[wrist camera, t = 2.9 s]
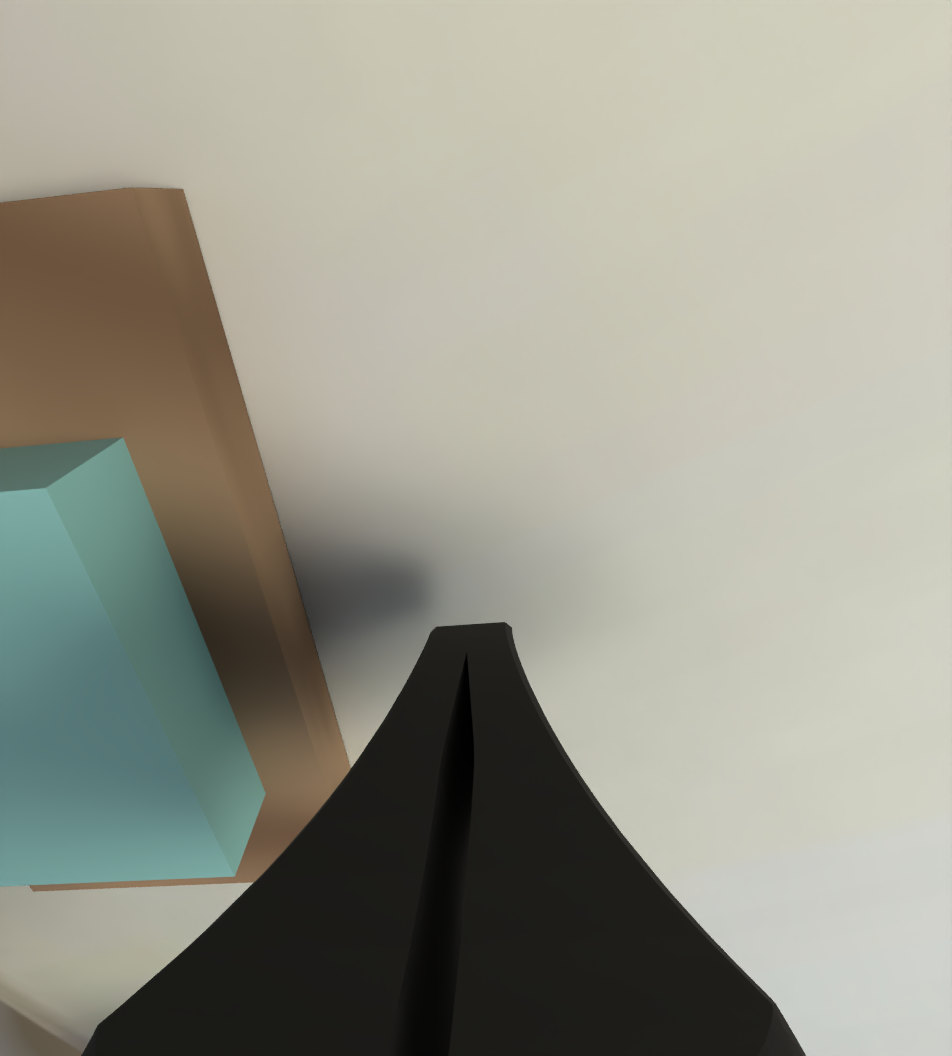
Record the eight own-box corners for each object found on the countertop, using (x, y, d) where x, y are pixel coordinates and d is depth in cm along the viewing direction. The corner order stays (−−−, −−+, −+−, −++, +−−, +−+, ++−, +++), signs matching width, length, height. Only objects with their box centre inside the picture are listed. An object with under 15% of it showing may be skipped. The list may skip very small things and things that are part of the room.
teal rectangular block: (265, 793, 14) (234, 876, 13) (27, 805, 15) (-36, 888, 13) (123, 437, 10) (45, 488, 8) (-209, 467, 10) (-351, 522, 9)
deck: (366, 823, 17) (355, 877, 16) (68, 836, 18) (33, 891, 16) (182, 189, 10) (131, 186, 8) (-328, 248, 10) (-458, 256, 9)
